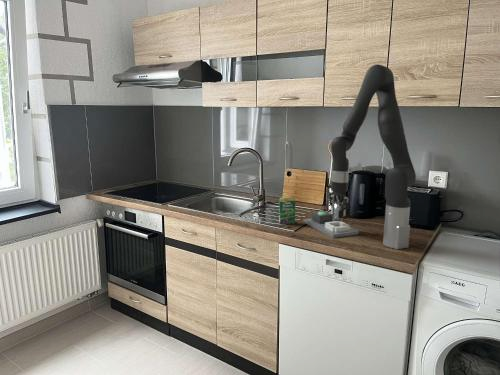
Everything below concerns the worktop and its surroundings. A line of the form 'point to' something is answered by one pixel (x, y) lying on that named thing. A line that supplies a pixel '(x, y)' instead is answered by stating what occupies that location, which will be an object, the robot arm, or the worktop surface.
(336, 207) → the billet
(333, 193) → the robot arm
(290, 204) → the coffee box
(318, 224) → the pallet
